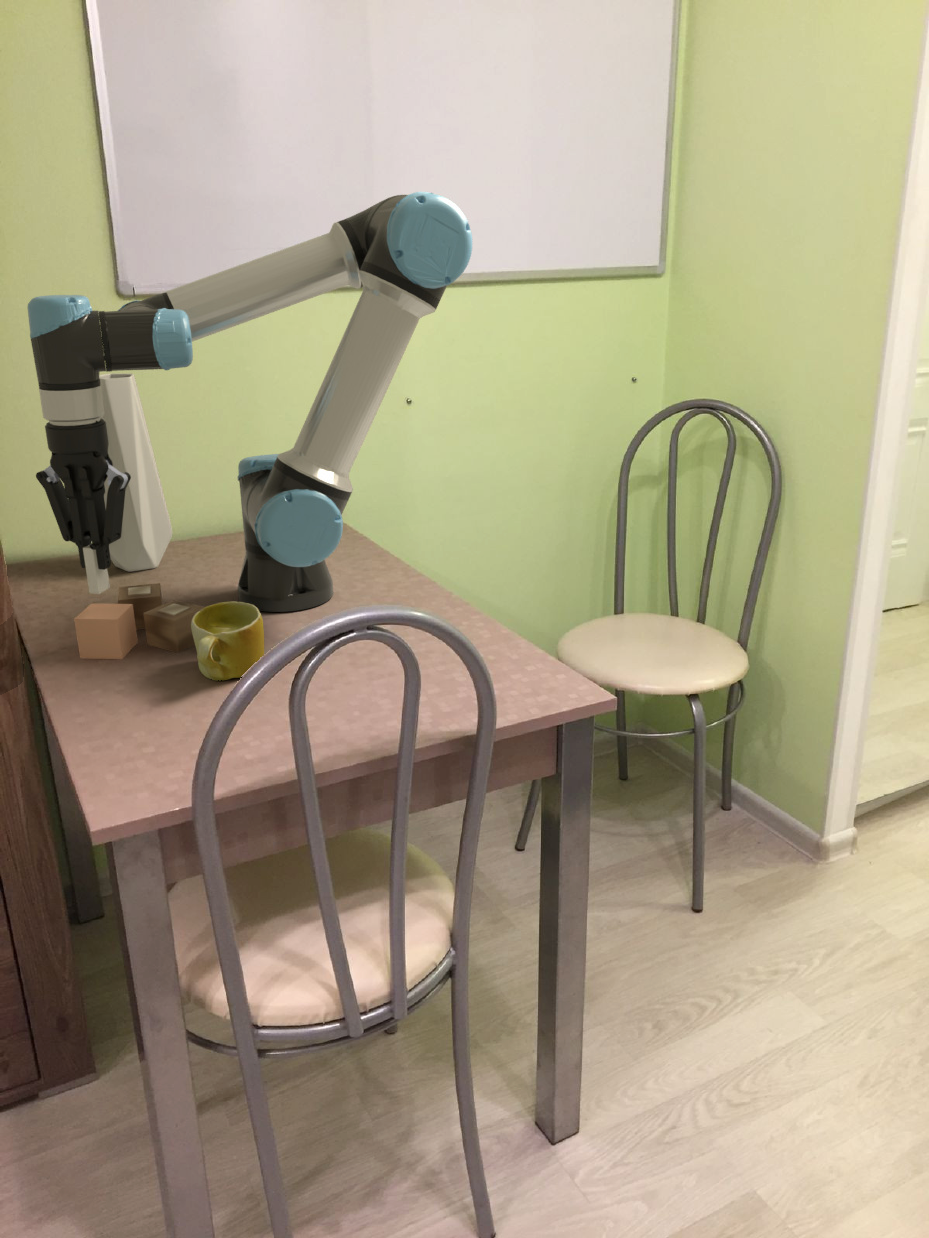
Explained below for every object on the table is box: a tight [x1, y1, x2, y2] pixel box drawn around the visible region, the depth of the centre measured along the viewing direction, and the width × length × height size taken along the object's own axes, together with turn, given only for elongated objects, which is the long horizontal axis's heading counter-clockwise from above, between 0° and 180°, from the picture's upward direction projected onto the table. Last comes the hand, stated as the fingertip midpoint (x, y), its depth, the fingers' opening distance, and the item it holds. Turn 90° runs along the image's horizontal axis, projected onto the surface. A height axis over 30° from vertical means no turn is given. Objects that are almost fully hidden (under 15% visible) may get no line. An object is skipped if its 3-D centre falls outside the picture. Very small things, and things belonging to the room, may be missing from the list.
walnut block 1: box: [117, 582, 164, 630], centre depth 153 cm, size 6×6×5 cm
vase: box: [99, 372, 173, 573], centre depth 174 cm, size 12×12×33 cm
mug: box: [191, 600, 265, 682], centre depth 135 cm, size 12×10×10 cm
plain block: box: [73, 603, 139, 660], centre depth 143 cm, size 6×6×6 cm
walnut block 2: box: [143, 599, 206, 653], centre depth 145 cm, size 6×6×5 cm
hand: (99, 590), depth 140 cm, fingers closed
